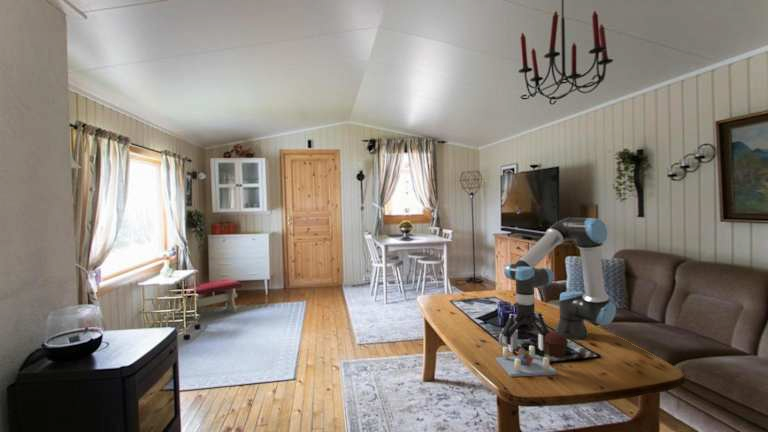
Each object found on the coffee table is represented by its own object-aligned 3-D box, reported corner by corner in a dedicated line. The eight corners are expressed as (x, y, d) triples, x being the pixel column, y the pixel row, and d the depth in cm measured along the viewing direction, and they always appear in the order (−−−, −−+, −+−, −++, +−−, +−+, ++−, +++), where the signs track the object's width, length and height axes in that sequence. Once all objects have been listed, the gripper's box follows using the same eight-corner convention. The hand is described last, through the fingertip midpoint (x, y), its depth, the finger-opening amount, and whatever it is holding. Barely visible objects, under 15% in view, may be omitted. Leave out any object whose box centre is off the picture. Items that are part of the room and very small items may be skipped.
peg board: (538, 357, 167) (538, 344, 167) (557, 374, 151) (557, 359, 151) (495, 359, 166) (495, 346, 166) (510, 376, 150) (510, 362, 150)
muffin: (554, 347, 179) (554, 327, 179) (573, 355, 169) (573, 334, 169) (535, 351, 175) (535, 330, 175) (554, 360, 165) (554, 338, 164)
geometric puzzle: (540, 361, 156) (531, 343, 160) (530, 365, 152) (521, 347, 156) (529, 366, 161) (519, 348, 165) (519, 370, 157) (510, 352, 161)
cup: (520, 348, 178) (520, 330, 178) (504, 352, 174) (504, 333, 174) (510, 343, 185) (510, 326, 184) (494, 346, 181) (494, 328, 181)
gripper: (548, 298, 162) (548, 345, 163) (493, 301, 160) (494, 348, 161) (557, 303, 155) (557, 352, 156) (500, 306, 153) (501, 355, 154)
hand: (525, 350), depth 159 cm, fingers open, 13 cm apart
